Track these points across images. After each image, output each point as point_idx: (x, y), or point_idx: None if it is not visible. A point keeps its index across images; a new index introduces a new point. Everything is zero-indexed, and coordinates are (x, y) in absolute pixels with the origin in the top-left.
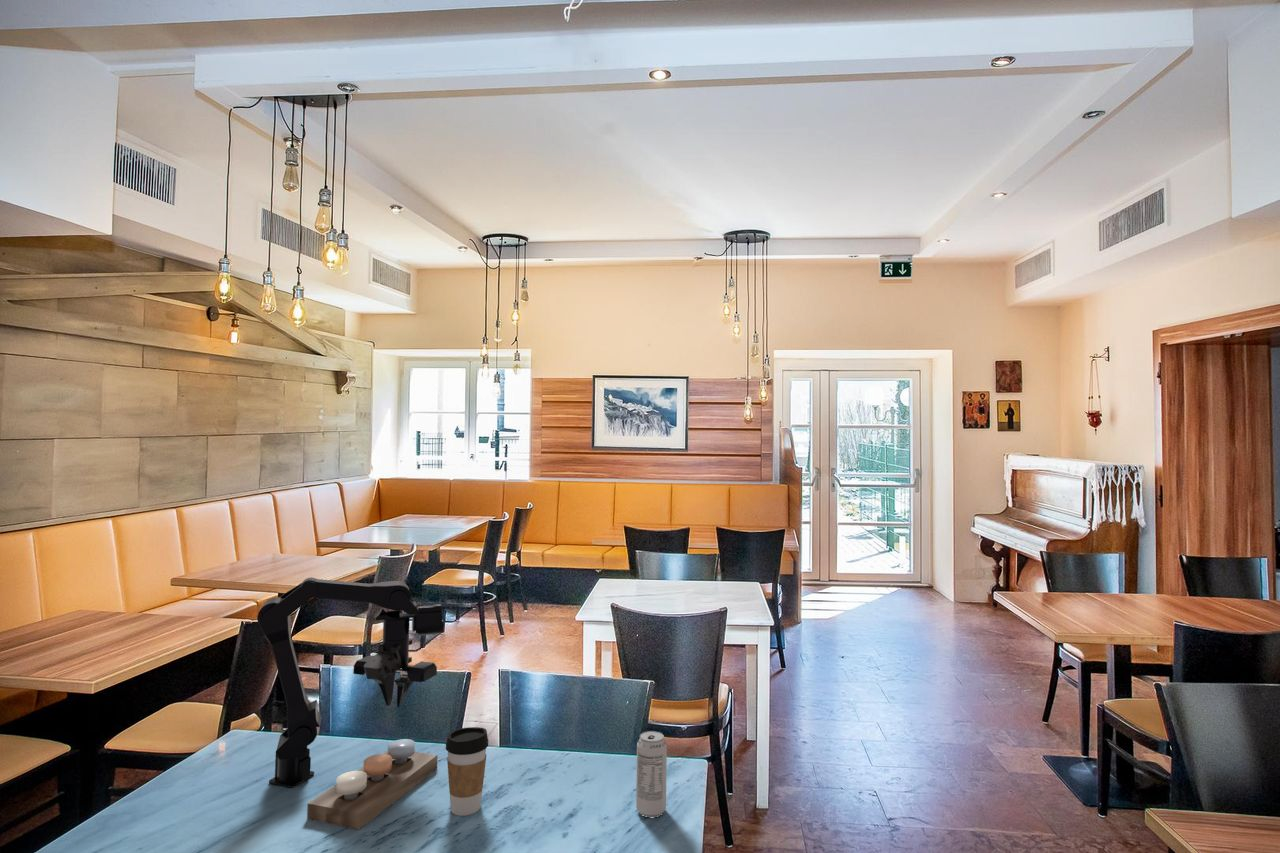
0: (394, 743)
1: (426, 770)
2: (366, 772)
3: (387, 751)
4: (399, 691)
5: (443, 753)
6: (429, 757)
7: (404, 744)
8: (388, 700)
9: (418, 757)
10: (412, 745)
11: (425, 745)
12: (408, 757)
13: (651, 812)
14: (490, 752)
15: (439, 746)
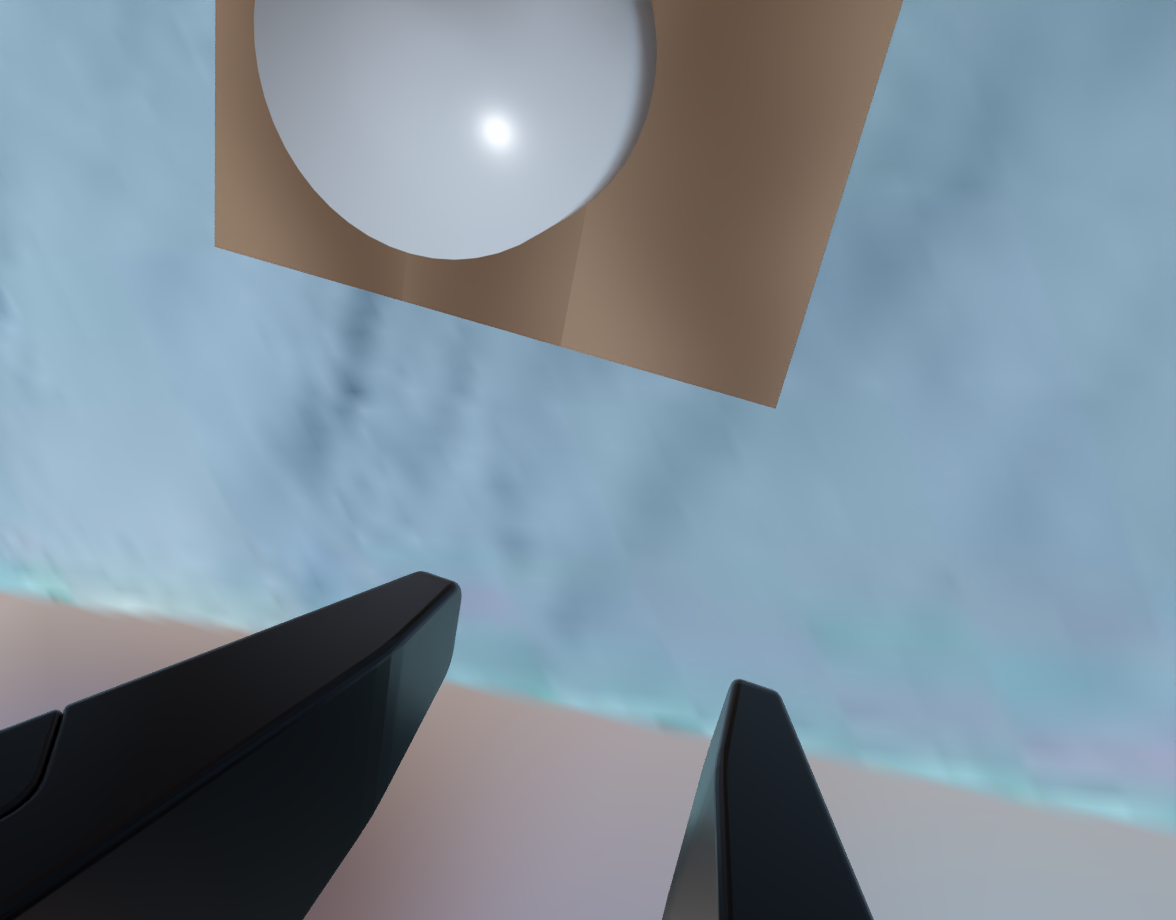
0: (546, 80)
1: None
2: None
3: (792, 306)
4: (14, 798)
5: (381, 513)
6: (257, 179)
7: (386, 63)
8: (708, 782)
9: None
10: (260, 37)
11: (595, 664)
12: None
13: None
14: (64, 520)
15: (470, 638)
